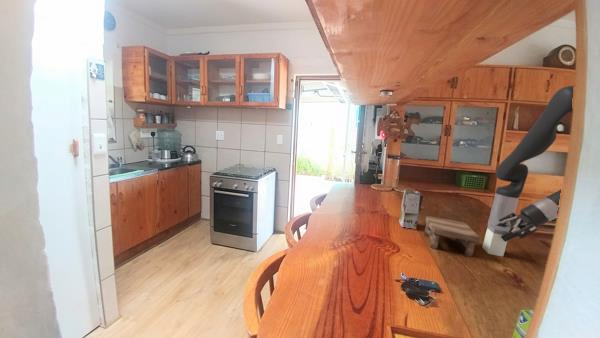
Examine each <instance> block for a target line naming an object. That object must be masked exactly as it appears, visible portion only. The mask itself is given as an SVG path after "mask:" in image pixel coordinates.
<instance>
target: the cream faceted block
mask: <svg viewBox="0 0 600 338" xmlns="http://www.w3.org/2000/svg"><path fill="white" fill-rule="evenodd" d="M508 232H509V231H508V230H507V229H505V228H504V227H502V226H496V225H490V224H488V223H487V227H486V232H485V235H484V240H483V242H482V243H483V244H482V249H483V250H484V251H485V252H486V253H487V254H488V255H493V256H498V257H504V256H505V255H504V254H505V252H506V247H507V243H508V241H506V242H505V241H504V240H503V239H502V238H501V236H502V235H504V234H506V233H508Z"/></svg>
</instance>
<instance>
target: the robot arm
mask: <svg viewBox="0 0 600 338" xmlns="http://www.w3.org/2000/svg"><path fill="white" fill-rule="evenodd" d="M574 86H575V85H568V86H564V87H561V88H559V89H558V90H557V91H556V92H555V93H554V94H553V95H552V97H551V98H550V100H549V101H548V103H547V105H546V106H545V108H544V110H543V111H542V113H540V116H539V117H538V118H537V120H536V121H535V123H534V124H533V125H532V127H530V129H529V130H528V132H526V134H525V135H524V136H523V138H522V139H521V140H520V142H519V143H518V144H517V146H516V147H515V148H514V149H513V151H511V153H510V154H509V155H508V156H506V158H504V159H503V161H502V162H501V163H500V164H499V165H498V166H497V169H496V171H495V172H496V173H495V176H496V178H497V180H500V181H503V182H510V183H509V184H507V185H504V186H498V187H497V188H496V190H495V194H494V198H493V201H492V202H493V203H492V205H491V210H490V213H489V217H488V221H487V225H488V224H490V225H496V226H502V227H504V228H505V229H507V230H508V231H510V232H508V233H506V234H504V235H502V236H501V238H502V239H503V240H504V241H505V242H506V241H507V242H508V241H510V240H512V239H514V238H519V239H525V238H526V237H528V236H530V235H531V234H533V233H535V232H537V231H538V229H537V228H539V227H541V226H543V225H545V224H547V223H548V222H551V221H553V220H555V219H557V218H556V216H557V211H558V205H559V199H560V193H561V188H560V189H559V190H558V191H555V192H553V193H552V194H549V195H547V196H546V197H543V198H541V199H539V200H536V201H535V202H533V203H531V204H529V205H528V206H525V207H523V208H521V209H520V211H519V214H518V215H516V212H517V208H518V204H519V199H520V196H521V194H522V192H523V190H524V187H525V184H526V180H527V178H528V174H529V167H528V166H527V165H526V164H524V163H523V162H527V161H528V160H530V159H533V158H536V157H538V156H540V155H542V154H543V153H545V152H547V150H548V149H549V148H551V146H552V145H553V144H554V142H555V141H556V138H557V126H558V124H559V123H560V121H561V120H562V119H563V118H564V117H565V116H566V115H567V114H569V113H573V112H572V98H573V87H574ZM511 229H512V230H511Z"/></svg>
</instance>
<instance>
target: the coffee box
mask: <svg viewBox="0 0 600 338" xmlns="http://www.w3.org/2000/svg"><path fill="white" fill-rule="evenodd" d="M403 190H404V191H403V196H402V200H401V206H400V211H399V212H400V213H399V218H398V222H399V224H400V226H401V228H402V227H406V228H405V229H407V228H413V229H416V230H417V227H418V222H419V218H420V213H421V207H422V205H423V204H422V203H423V199H424V194H422V193H421V192H420V191H419V190H416V189H406V188H405V189H403ZM413 229H412V230H413Z"/></svg>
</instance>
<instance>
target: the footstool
mask: <svg viewBox="0 0 600 338" xmlns="http://www.w3.org/2000/svg"><path fill="white" fill-rule="evenodd" d="M424 220H425V222H426V223H425V228H424V233H423V235H424V236H425V237H429V239H430V244H429V245H430V246H429V248H430V249H432V250H438V245H439V242H440V237H441V236H443V237H448V238H452V239H453V238H454V242H456V243H460V244H463V246H464V247H465V251H464V255H465V256H467V257H471V258H472V257H473V255H474V251H475V246H476V243H479V242H480V236H479V235H478V234H477V233H476V231H474V230H473V229H472V228H471V227H470V226H469V225H468V224H467V223H466V222H464V221H457V220H451V219H446V218H442V217H441V218H440V217H435V216H430V215H425V219H424Z"/></svg>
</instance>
